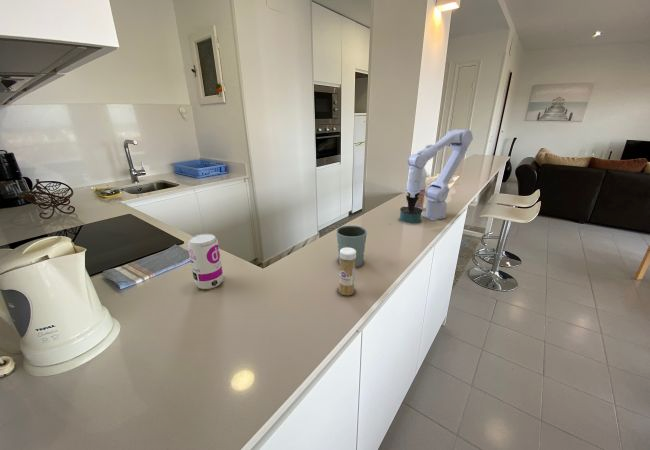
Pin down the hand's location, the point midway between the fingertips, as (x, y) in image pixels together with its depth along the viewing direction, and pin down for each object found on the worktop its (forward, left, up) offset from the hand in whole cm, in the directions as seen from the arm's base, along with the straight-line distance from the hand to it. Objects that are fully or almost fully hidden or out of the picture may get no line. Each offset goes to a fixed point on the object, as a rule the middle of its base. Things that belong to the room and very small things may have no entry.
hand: (411, 208), depth 135 cm
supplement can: (+94, +17, -7) cm, 96 cm away
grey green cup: (+48, +24, -7) cm, 54 cm away
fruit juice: (-15, -14, -7) cm, 22 cm away
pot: (0, 0, -7) cm, 7 cm away
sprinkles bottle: (+58, +39, -7) cm, 70 cm away
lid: (0, 0, -1) cm, 1 cm away
